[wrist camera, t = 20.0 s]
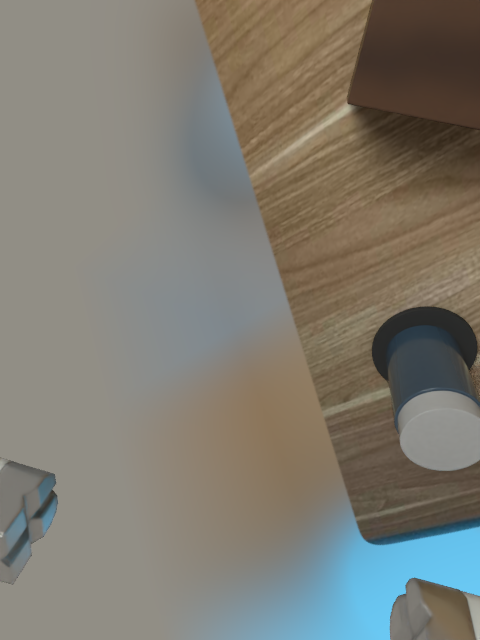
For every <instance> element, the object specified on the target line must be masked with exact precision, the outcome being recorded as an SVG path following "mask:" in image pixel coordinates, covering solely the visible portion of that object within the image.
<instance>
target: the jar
mask: <svg viewBox="0 0 480 640" xmlns="http://www.w3.org/2000/svg"><path fill="white" fill-rule="evenodd" d="M385 355H386V365H387V372H388V380H389V387H390V394H391V401H392V409H393V416H394V423H395V428H396V430H397V432H398V434H399V439H400V445H401V448H402V450H403V452H404V453H405V455H406V456H407V457H408V458H409V459H410V460H411V461H413V462H414V463H416V464H418V465H420V466H422V467H425V468H428V469H432V470H438V471H451V470H458V469H462V468H465V467H468V466H470V465H472V464H474V463H476V462H477V461H479V460H480V397H479V394H478V392H477V389H476V387H475V384H474V382H473V379H472V377H471V374H470V372H469V369H468V367H467V364H466V362H465V359H464V357H463V354H462V352H461V349H460V347H459V345H458V342H457V341H456V339H455V338H454V337H453V336H452V335H451V334H450V333H449V332H447V331H446V330H444V329H442V328H439V327H436V326H431V325H419V326H414V327H410V328H407V329H405V330H403V331H401V332H400V333H398V334H397V335H396V336H395V337H394V338H393V339H392V340H391V341H390V343H389V344H388V346H387V349H386V354H385Z"/></svg>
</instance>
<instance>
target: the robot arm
mask: <svg viewBox="0 0 480 640" xmlns="http://www.w3.org/2000/svg"><path fill="white" fill-rule="evenodd" d="M55 484H56V479H55V474H53V473H50V472H46V471H43V470H40V469H36V468H33V467H29V466H26V465H23V464H19V463H16V462H14V461H11V460H7V459H3V458H0V581H2V582H6V583H9V584H14V582H15V581H16V579H17V578H18V576H19V574H20V573H21V571H22V570H23V568H24V566H25V565H26V563H27V562H28V560H29V559H30V557H31V556H32V553H31V544H32V543H34V542H36V541H37V540H39V539H41V538H42V537H44V535H45V533H46V532H47V530H48V529H49V527H50V525H51V523H52V520H53V518H54V516H55V513H56V510H57V504H58V500H57V495H56V494H55V492H54V491H53V490H52V489H53V487H54V486H55ZM390 639H391V640H480V596H477V595H474V594H470V593H467V592H463V591H460V590H458V589H454V588H451V587H447V586H443V585H439V584H435V583H432V582H428V581H425V580H421V579H417V578H412V579H410V580H409V581H408V582H407V584H406V594H403V595H400V596H398V597H397V599H396V601H395V602H394V604H393V608H392V612H391V616H390Z"/></svg>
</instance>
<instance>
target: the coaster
mask: <svg viewBox="0 0 480 640" xmlns="http://www.w3.org/2000/svg"><path fill="white" fill-rule="evenodd" d="M419 325H431V326H436V327H439V328H442V329H444V330H446V331H447V332H449V333H450V334H451V335H452V336H453V337H454V338H455V339H456V341H457V342H458V345H459V347H460V349H461V352H462V354H463V357H464V359H465V362H466V364H467V367H468V369H469V370H470V368H471V367H472V365H473V363H474V361H475V358H476V355H477V341H476V337H475V335H474V333H473V330H472V329H471V327H470V326H469V324H468V323H467V322H466V321H465V320H464V319H463V318H461V317H460V316H459V315H457V314H455V313H453V312H451V311H449V310H446V309H442V308H437V307H417V308H412V309H408V310H405V311H403V312H400V313H398V314H396V315H394V316H393V317H391V318H390V319H388V320H387V321H386V322H385V323H384V324H383V325H382V326H381V327H380V329H379V330H378V332H377V333H376V335H375V338H374V341H373V345H372V356H373V361H374V364H375V367H376V368H377V370H378V372H379V373H380V374H381V375H382V376H383V377H384V378H385V379H386V380H387V381H389V380H388V372H387V365H386V355H385V354H386V349H387V346H388V344H389V343H390V341H391V340H392V339H393V338H394V337H395V336H396V335H397V334H398V333H400V332H401V331H403V330H405V329H407V328H410V327H414V326H419Z"/></svg>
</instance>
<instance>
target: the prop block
mask: <svg viewBox="0 0 480 640" xmlns="http://www.w3.org/2000/svg"><path fill="white" fill-rule="evenodd" d="M347 102H348V104H351V105H356V106H361V107H366V108H371V109H376V110H381V111H386V112H391V113H396V114H401V115H406V116H411V117H417V118H422V119H427V120H432V121H437V122H442V123H447V124H452V125H457V126H462V127H467V128H472V129H477V130H480V0H372V3H371V7H370V11H369V15H368V18H367V22H366V26H365V30H364V34H363V38H362V42H361V45H360V49H359V53H358V57H357V61H356V65H355V69H354V72H353V76H352V80H351V84H350V88H349V92H348V96H347Z"/></svg>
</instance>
